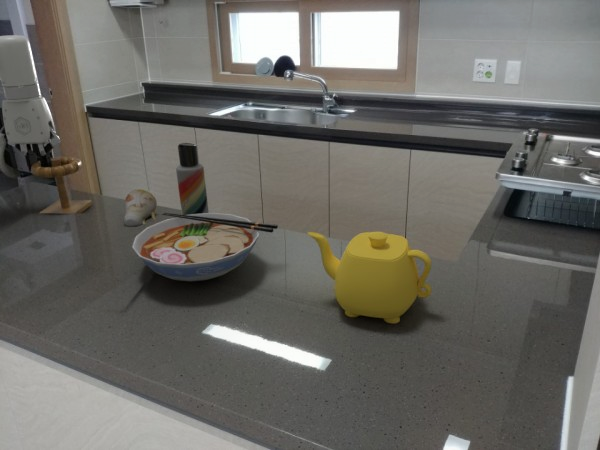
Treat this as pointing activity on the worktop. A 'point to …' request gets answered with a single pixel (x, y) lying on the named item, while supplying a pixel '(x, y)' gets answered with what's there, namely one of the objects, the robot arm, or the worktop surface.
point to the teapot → (376, 275)
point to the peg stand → (65, 197)
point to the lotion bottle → (191, 181)
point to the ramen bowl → (198, 245)
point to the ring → (57, 168)
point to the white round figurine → (139, 207)
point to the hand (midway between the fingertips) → (40, 169)
